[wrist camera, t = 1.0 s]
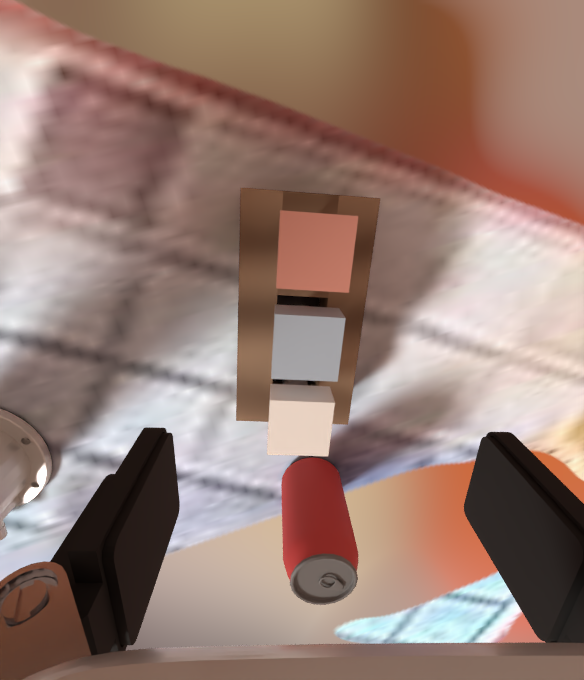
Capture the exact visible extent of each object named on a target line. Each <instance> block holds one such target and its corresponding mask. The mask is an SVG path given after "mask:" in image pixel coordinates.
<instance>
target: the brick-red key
mask: <svg viewBox="0 0 584 680" xmlns="http://www.w3.org/2000/svg"><path fill="white" fill-rule="evenodd" d="M357 224H358V216H350V215H337V214H323V213H310V212H296V211H283V210H280V220H279V239H278V257H277V275H276V288H277V289H293V290H310V291H327V292H344V293H349V287H350V279H351V272H352V264H353V256H354V248H355V240H356V232H357Z"/></svg>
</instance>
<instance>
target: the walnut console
mask: <svg viewBox="0 0 584 680" xmlns="http://www.w3.org/2000/svg"><path fill="white" fill-rule="evenodd" d="M379 204H380V198H368V197H355V196H342V195H329V194H316V193H303V192H291V191H278V190H265V189H252V188H241V196H240V249H239V302H238V355H237V409H236V420H237V421H265V422H268V421H269V403H270V385H271V384H283V383H282V382H280V381H273V379H271V369H272V348H273V330H274V312H275V304H276V305H277V295H287V296H304V297H319V307H328V308H339V309H340V310H341V312H342V313H343V315H344V316H345V318H346V319H345V327H344V335H343V343H342V351H341V359H340V367H339V375H338V382H333V381H311V383H308V385H309V386H330V388H331V392H332V395H333V398H334V401H335V406H334V414H333V422H332V424H348V420H349V413H350V406H351V399H352V392H353V385H354V378H355V371H356V364H357V357H358V350H359V343H360V336H361V329H362V322H363V315H364V308H365V302H366V295H367V288H368V281H369V274H370V267H371V260H372V253H373V246H374V239H375V232H376V225H377V218H378V211H379ZM280 210H283V211H296V212H310V213H323V214H337V215H350V216H358V224H357V232H356V240H355V248H354V256H353V264H352V272H351V279H350V287H349V293H344V292H327V291H310V290H293V289H277V288H276V275H277V257H278V239H279V220H280Z"/></svg>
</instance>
